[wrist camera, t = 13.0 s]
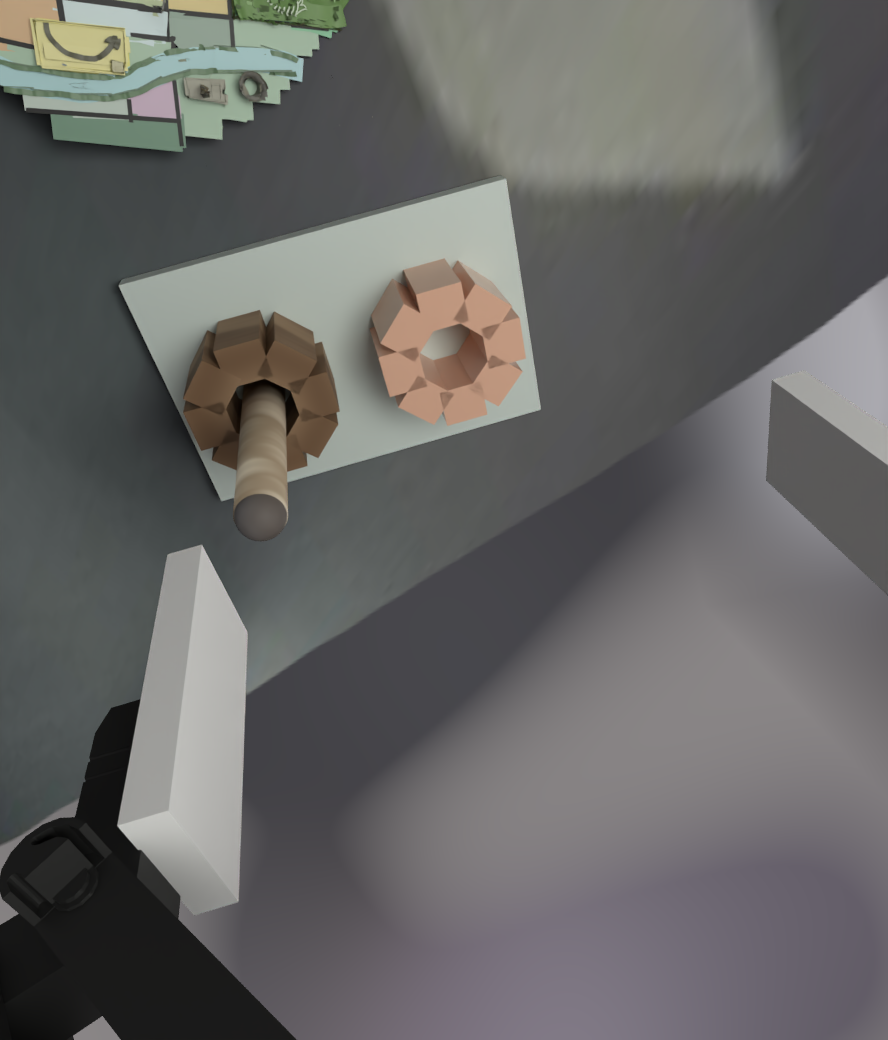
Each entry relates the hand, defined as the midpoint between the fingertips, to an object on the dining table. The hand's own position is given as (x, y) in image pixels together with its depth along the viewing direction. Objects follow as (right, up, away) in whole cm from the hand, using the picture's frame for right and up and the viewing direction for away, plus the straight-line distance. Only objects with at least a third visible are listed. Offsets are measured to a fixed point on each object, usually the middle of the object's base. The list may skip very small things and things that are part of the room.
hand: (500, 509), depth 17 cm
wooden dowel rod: (-13, +9, +32) cm, 36 cm away
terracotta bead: (-2, +12, +33) cm, 35 cm away
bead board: (-8, +11, +33) cm, 36 cm away
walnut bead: (-13, +9, +32) cm, 36 cm away
